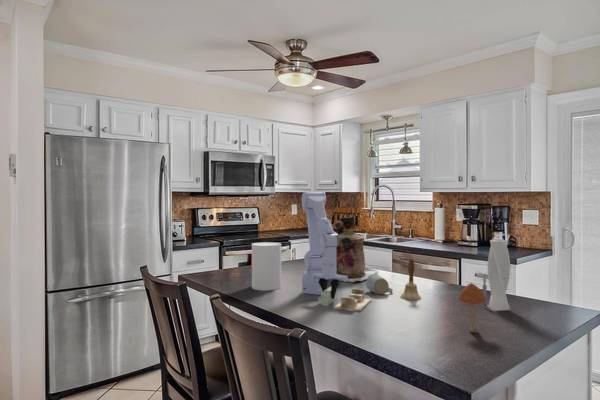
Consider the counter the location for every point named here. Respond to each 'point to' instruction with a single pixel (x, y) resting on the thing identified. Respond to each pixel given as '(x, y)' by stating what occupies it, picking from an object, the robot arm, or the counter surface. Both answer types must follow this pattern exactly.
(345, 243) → the cookie jar
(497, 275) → the white twisted vase
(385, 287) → the ceramic mug
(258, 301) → the counter surface
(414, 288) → the hand bell
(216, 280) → the counter surface
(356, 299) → the display stand
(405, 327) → the counter surface
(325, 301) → the glasses case
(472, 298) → the mushroom
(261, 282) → the canister
